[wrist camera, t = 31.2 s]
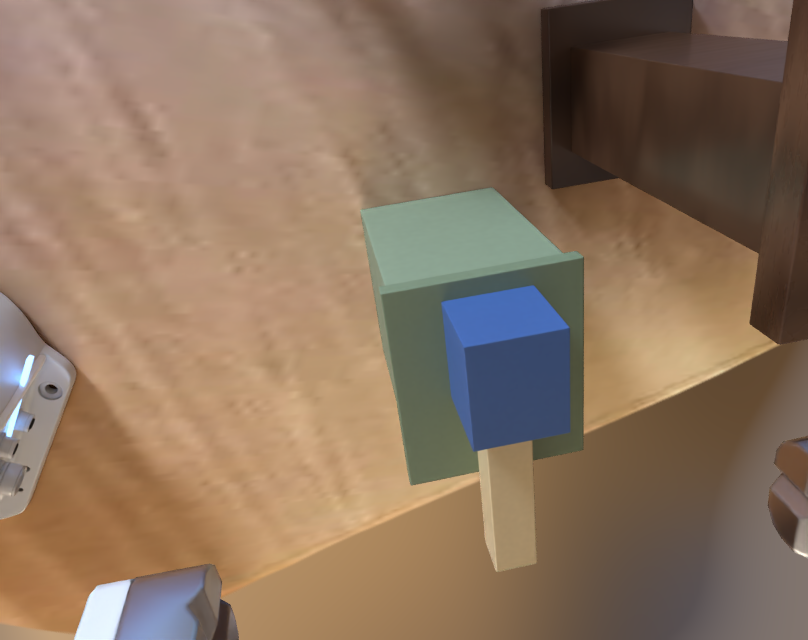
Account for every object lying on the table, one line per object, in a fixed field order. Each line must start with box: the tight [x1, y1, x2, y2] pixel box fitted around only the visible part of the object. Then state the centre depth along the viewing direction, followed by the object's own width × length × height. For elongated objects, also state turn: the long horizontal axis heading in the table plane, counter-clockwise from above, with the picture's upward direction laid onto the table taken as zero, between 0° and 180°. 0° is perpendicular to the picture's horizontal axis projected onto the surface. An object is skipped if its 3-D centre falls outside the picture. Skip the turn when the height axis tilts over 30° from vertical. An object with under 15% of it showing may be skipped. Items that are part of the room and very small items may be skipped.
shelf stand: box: [541, 0, 808, 345], centre depth 35 cm, size 13×10×25 cm
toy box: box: [361, 188, 584, 485], centre depth 43 cm, size 13×11×16 cm
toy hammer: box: [441, 285, 570, 572], centre depth 35 cm, size 18×5×5 cm, turn 7°
